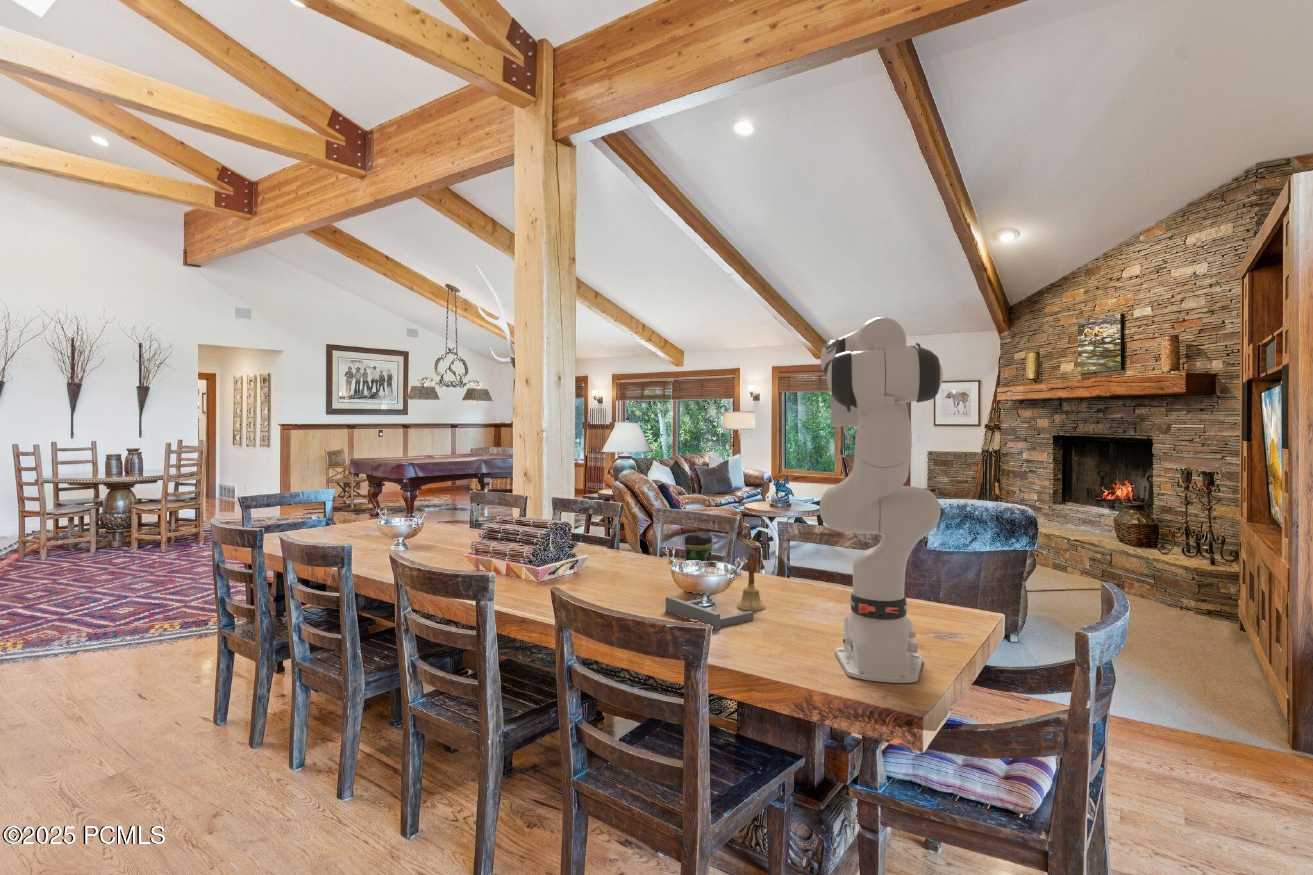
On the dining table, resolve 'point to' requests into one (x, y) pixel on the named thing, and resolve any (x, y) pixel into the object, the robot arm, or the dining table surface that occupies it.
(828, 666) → the dining table surface
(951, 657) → the dining table surface
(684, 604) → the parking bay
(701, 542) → the coffee jar
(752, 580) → the hand bell
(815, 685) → the dining table surface
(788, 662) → the dining table surface
